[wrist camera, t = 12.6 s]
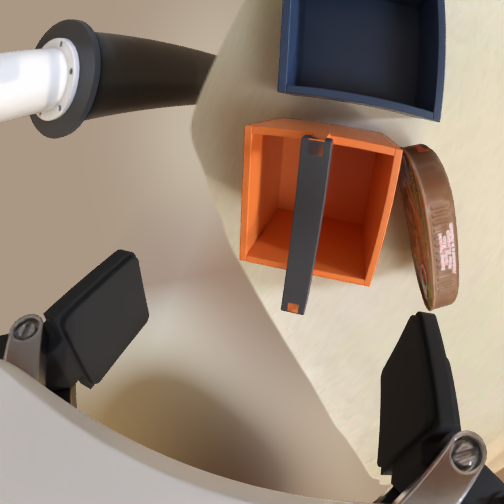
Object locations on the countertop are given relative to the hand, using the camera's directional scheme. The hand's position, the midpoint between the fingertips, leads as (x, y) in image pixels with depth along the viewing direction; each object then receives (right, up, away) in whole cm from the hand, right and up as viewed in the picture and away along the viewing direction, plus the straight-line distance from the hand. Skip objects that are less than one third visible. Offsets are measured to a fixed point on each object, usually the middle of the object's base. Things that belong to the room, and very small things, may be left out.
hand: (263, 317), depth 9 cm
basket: (+7, +10, +18) cm, 21 cm away
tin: (+16, +6, +16) cm, 24 cm away
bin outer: (+9, +20, +11) cm, 25 cm away
